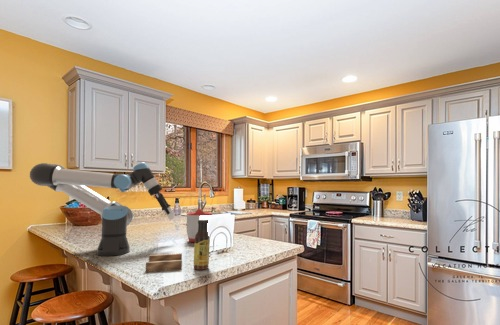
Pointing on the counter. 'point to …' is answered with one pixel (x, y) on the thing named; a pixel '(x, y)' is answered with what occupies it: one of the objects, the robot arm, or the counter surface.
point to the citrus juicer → (194, 223)
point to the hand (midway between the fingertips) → (172, 217)
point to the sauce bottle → (201, 246)
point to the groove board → (164, 262)
